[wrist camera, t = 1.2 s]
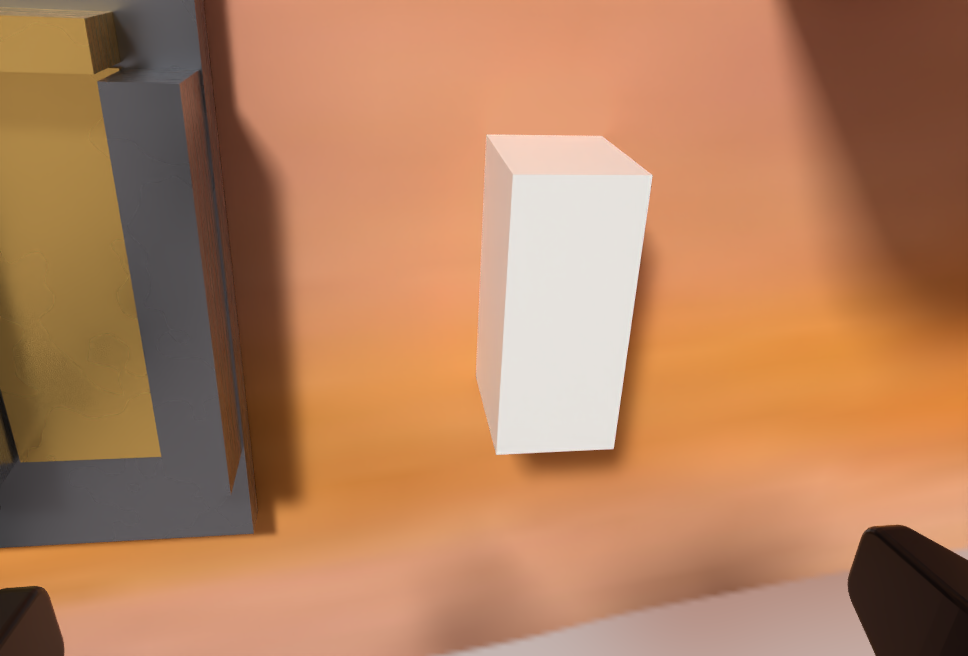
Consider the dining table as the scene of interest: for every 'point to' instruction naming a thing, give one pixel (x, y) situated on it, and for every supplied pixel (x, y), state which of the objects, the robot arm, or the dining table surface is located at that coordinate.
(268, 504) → the dining table surface
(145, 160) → the rack
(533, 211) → the white rectangular prism
